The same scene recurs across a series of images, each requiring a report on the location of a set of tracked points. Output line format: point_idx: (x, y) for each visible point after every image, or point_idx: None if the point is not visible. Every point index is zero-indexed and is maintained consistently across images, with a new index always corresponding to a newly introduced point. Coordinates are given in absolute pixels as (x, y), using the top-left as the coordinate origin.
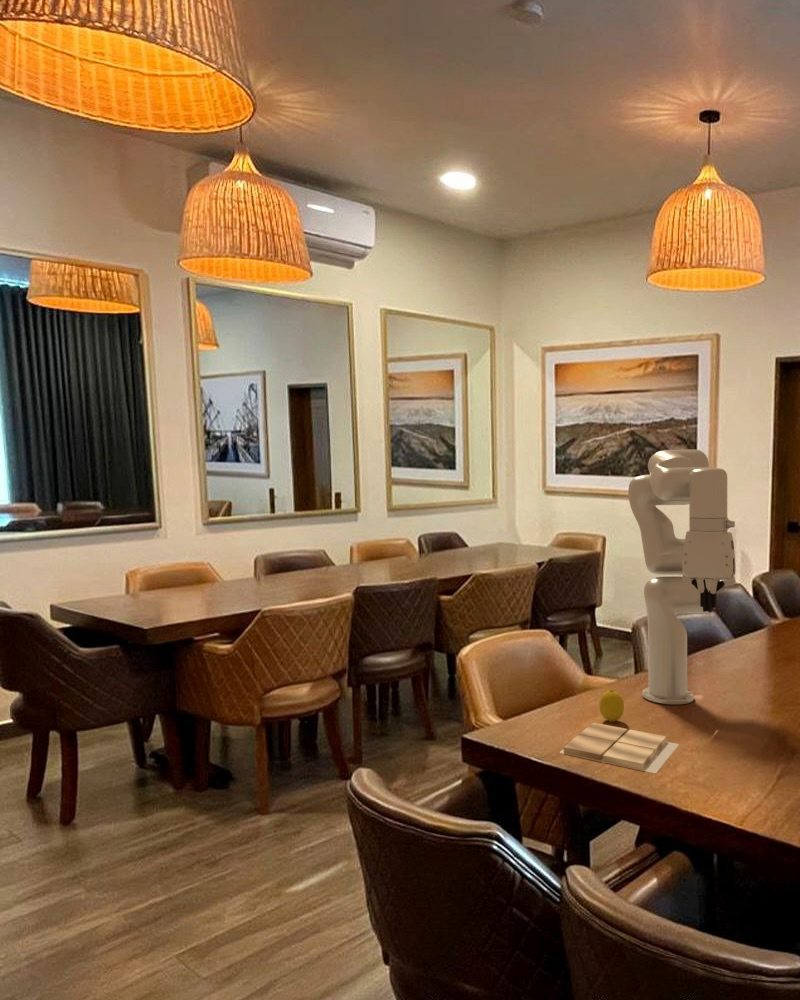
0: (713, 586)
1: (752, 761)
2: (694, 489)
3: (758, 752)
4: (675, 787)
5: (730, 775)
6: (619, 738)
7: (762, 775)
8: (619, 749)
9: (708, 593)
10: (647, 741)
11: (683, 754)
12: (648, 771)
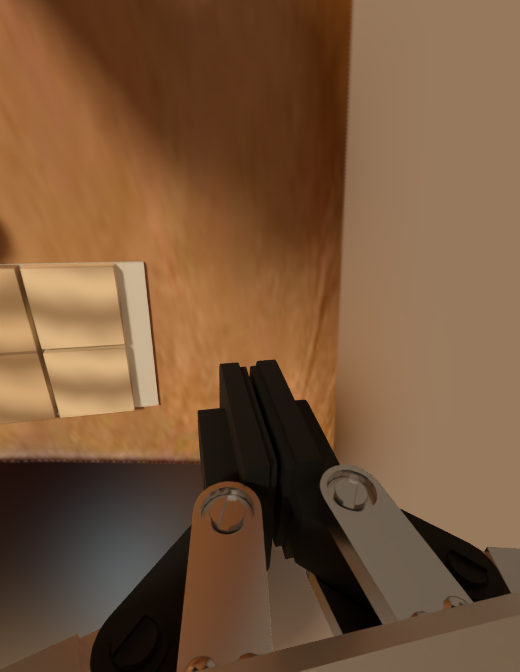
0: (356, 620)
1: (281, 264)
2: None
3: (288, 210)
4: (196, 419)
5: (256, 341)
6: (30, 322)
7: (300, 315)
8: (69, 381)
9: (280, 524)
10: (93, 317)
11: (165, 299)
12: (145, 404)
